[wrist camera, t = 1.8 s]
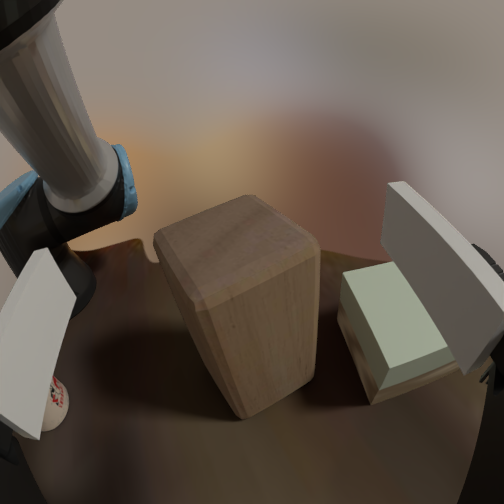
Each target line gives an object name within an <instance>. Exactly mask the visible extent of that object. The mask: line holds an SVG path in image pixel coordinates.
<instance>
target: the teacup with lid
mask: <svg viewBox="0 0 504 504" xmlns="http://www.w3.org/2000/svg"><path fill="white" fill-rule="evenodd" d="M68 407H69V397H68V393H67V390H66V388H65V387H64V385H63V384H62V383H61V382H59V381H58V380H57V379H56V378H55V377H54V376H52V380H51V384H50V389H49V393H48V397H47V402H46V407H45V412H44V417H43V422H42V428H41V431H50V430H52V429H54V428H56V427H57V426H58V425H59V424H60V423H61V422H62V421H63V420H64V418H65V416H66V414H67V411H68Z"/></svg>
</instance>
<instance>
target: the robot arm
mask: <svg viewBox="0 0 504 504" xmlns="http://www.w3.org/2000/svg"><path fill="white" fill-rule="evenodd" d="M62 1H63V0H0V131H1V133H2V134H3V135H4V136H5V138H6V139H7V140H8V141H9V142H10V144H11V145H12V146H13V147H14V148H15V149H16V151H17V152H18V153H19V154H20V155H21V156H22V157H23V158H24V160H25V161H26V162H27V163H28V164H29V165H30V166H31V167H32V168H33V169H34V171H30V172H27V173H25V174H23V175H22V176H20V177H19V178H18V179H16V180H15V181H14V182H12V183H11V184H10V185H8V186H7V187H6V188H5V189H4V190H3V191H2V192H0V251H1V253H2V255H3V257H4V258H5V260H6V261H7V263H8V265H9V266H10V268H11V270H12V271H13V273H14V274H15V276H16V277H17V281H16V283H15V285H14V287H13V288H12V290H11V292H10V294H9V296H8V298H7V300H6V302H5V304H4V306H3V308H2V310H1V312H0V504H47V502H46V500H45V499H44V497H43V495H42V493H41V491H40V489H39V487H38V485H37V483H36V481H35V479H34V477H33V475H32V473H31V471H30V468H29V466H28V464H27V462H26V459H25V457H24V455H23V452H22V450H21V447H20V445H19V442H18V441H17V439H16V438H15V437H14V436H12V432H13V430H14V431H16V432H17V433H19V434H20V435H22V436H23V437H26V438H31V439H36V440H40V433H41V428H42V422H43V417H44V412H45V407H46V402H47V397H48V393H49V389H50V384H51V380H52V376H53V372H54V368H55V365H56V361H57V357H58V354H59V350H60V347H61V344H62V340H63V337H64V334H65V331H66V328H67V324H68V321H69V319H71V318H72V317H74V316H75V315H76V314H78V313H79V312H80V311H81V310H82V309H83V308H84V307H85V306H86V305H87V303H88V302H89V301H90V299H91V298H92V296H93V294H94V291H95V288H96V278H95V275H94V274H93V272H92V270H91V268H90V267H89V266H88V265H87V264H86V263H85V262H83V261H82V260H81V259H80V258H79V257H78V256H77V255H76V254H75V253H74V252H73V251H72V250H71V249H70V247H69V246H68V244H67V242H68V241H70V240H72V239H74V238H76V237H79V236H81V235H84V234H86V233H88V232H91V231H93V230H95V229H98V228H100V227H103V226H105V225H108V224H110V223H112V222H115V221H121V220H122V219H123V218H124V217H126V216H129V215H131V214H133V213H134V212H135V211H136V208H137V205H138V204H137V203H138V201H137V194H136V189H135V187H134V179H133V175H132V171H131V167H130V163H129V160H128V157H127V154H126V151H125V149H124V148H123V146H122V145H120V144H117V145H110V144H109V143H108V142H106V141H105V140H103V139H101V138H98V137H97V136H96V134H95V131H94V129H93V126H92V124H91V121H90V119H89V116H88V114H87V111H86V109H85V106H84V104H83V101H82V98H81V96H80V93H79V90H78V87H77V85H76V82H75V79H74V76H73V73H72V70H71V68H70V64H69V61H68V58H67V56H66V52H65V49H64V46H63V43H62V40H61V36H60V33H59V29H58V26H57V22H56V19H55V15H54V12H55V11H56V10H57V8H58V7H59V6H60V4H61V3H62ZM38 175H39V176H40V177H38ZM380 243H381V245H382V246H383V248H384V249H385V250H386V252H387V253H388V255H389V256H390V257H391V259H392V260H393V262H394V263H395V264H396V266H397V267H398V269H399V270H400V272H401V273H402V274H403V276H404V277H405V279H406V280H407V282H408V283H409V285H410V286H411V288H412V289H413V291H414V292H415V294H416V295H417V297H418V298H419V300H420V301H421V303H422V305H423V306H424V308H425V309H426V311H427V312H428V314H429V316H430V317H431V319H432V320H433V322H434V324H435V325H436V327H437V329H438V330H439V332H440V334H441V335H442V337H443V339H444V340H445V342H446V344H447V346H448V347H449V349H450V351H451V353H452V354H453V356H454V358H455V360H456V362H457V363H458V365H459V367H460V369H461V371H462V373H463V375H466V374H468V373H470V372H472V371H474V370H476V369H477V368H479V367H481V366H482V365H483V364H484V362H485V361H486V360H487V358H488V357H489V356H491V358H492V359H493V362H492V364H491V365H490V366H489V367H488V369H487V370H486V371H485V372H484V374H483V375H482V376H481V378H480V381H479V382H481V383H482V382H483V381H484V380H485V379H486V377H487V376H488V375H489V379H488V380H487V382H486V384H488V386H487V393H486V399H485V405H484V411H483V416H482V421H481V426H480V430H479V435H478V439H477V443H476V447H475V451H474V454H473V458H472V461H471V465H470V468H469V471H468V474H467V477H466V480H465V483H464V486H463V489H462V492H461V495H460V497H459V500H458V503H457V504H504V273H503V270H502V269H501V268H500V267H499V265H496V263H495V261H494V260H493V259H492V258H491V257H490V255H489V254H488V253H487V252H485V251H484V250H483V249H481V248H480V247H478V246H477V245H475V244H470V243H469V242H468V241H467V240H466V239H465V238H464V237H463V236H462V235H461V234H460V233H459V232H458V231H457V230H456V229H455V228H454V227H453V226H452V225H451V224H450V223H449V222H448V221H447V220H446V219H445V218H444V217H443V216H442V215H441V214H440V213H439V212H438V211H437V210H436V209H435V208H434V207H432V206H431V205H430V204H429V203H428V202H427V201H426V200H425V199H424V198H423V197H422V196H420V195H419V194H418V193H417V192H416V191H415V190H414V189H413V188H411V187H410V186H409V185H408V184H407V183H405V182H404V181H403V182H393V183H387V193H386V202H385V211H384V219H383V227H382V234H381V241H380Z"/></svg>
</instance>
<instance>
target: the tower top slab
mask: <svg viewBox="0 0 504 504" xmlns="http://www.w3.org/2000/svg"><path fill="white" fill-rule="evenodd" d="M340 301H341V303H342V306H343V308H344V310H345V312H346V314H347V316H348V319H349V321H350V323H351V325H352V328H353V330H354V332H355V334H356V337H357V339H358V341H359V344H360V346H361V348H362V350H363V353H364V355H365V357H366V360H367V362H368V365H369V367H370V369H371V372H372V374H373V377H374V379H375V381H376V384H377V386H378V389H379V390H382V389H384V388H387V387H390V386H393V385H396V384H399V383H401V382H404V381H407V380H409V379H412V378H414V377H417V376H419V375H422V374H424V373H427V372H429V371H432V370H434V369H436V368H439V367H441V366H443V365H445V364H448V363H450V362H452V361H454V360H455V358H454V356H453V354H452V353H451V351H450V349H449V347H448V346H447V344H446V342H445V340H444V339H443V337H442V335H441V334H440V332H439V330H438V329H437V327H436V325H435V324H434V322H433V320H432V319H431V317H430V316H429V314H428V312H427V311H426V309H425V308H424V306H423V305H422V303H421V301H420V300H419V298H418V297H417V295H416V294H415V292H414V291H413V289H412V288H411V286H410V285H409V283H408V282H407V280H406V279H405V277H404V276H403V274H402V273H401V272H400V270H399V269H398V267H397V266H396V264H395V263H394V262H389V263H384V264H380V265H375V266H371V267H367V268H362V269H358V270H353V271H348V272H344V273H343V274H342V284H341V294H340Z"/></svg>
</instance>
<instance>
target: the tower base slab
mask: <svg viewBox="0 0 504 504" xmlns="http://www.w3.org/2000/svg"><path fill="white" fill-rule="evenodd" d="M337 321H338V324H339V326H340V328H341V331H342V333H343V336H344V338H345V341H346V343H347V346H348V348H349V351H350V353H351V356H352V358H353V361H354V363H355V366H356V368H357V371H358V373H359V376H360V379H361V381H362V384H363V386H364V389H365V392H366V394H367V397H368V400H369V402H370V405H373V404H376V403H379V402H381V401H384V400H387V399H390V398H393V397H395V396H398V395H401V394H403V393H406V392H409V391H411V390H414V389H416V388H419V387H421V386H423V385H426V384H428V383H431V382H433V381H435V380H437V379H440V378H442V377H444V376H446V375H448V374H451V373H453V372H455V371H457V370H459V369H460V367H459V365H458V363H457V362H456V360H454V361H452V362H450V363H448V364H445V365H443V366H441V367H439V368H436V369H434V370H432V371H429V372H427V373H424V374H422V375H419V376H417V377H414V378H412V379H409V380H407V381H404V382H401V383H399V384H396V385H393V386H390V387H387V388H384V389H382V390H379V389H378V386H377V384H376V381H375V379H374V377H373V374H372V372H371V369H370V367H369V365H368V362H367V360H366V357H365V355H364V353H363V350H362V348H361V346H360V344H359V341H358V339H357V337H356V334H355V332H354V330H353V328H352V325H351V323H350V321H349V319H348V316H347V314H346V312H345V310H344V308H343V306H342V303H341V301H340V299H339V308H338V316H337Z"/></svg>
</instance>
